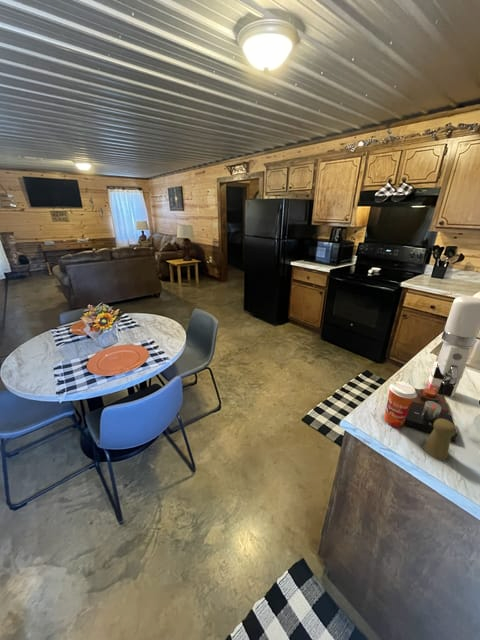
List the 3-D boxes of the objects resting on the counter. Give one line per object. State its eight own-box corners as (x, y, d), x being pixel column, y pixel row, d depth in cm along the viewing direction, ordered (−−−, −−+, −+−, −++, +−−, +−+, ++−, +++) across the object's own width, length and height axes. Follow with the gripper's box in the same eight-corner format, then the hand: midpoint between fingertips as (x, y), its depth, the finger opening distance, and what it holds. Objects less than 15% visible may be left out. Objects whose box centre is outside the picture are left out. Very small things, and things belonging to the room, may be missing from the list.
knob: (420, 410, 91) (424, 398, 89) (435, 415, 89) (440, 402, 87) (422, 419, 87) (426, 406, 85) (438, 423, 86) (443, 410, 84)
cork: (423, 453, 78) (434, 424, 74) (423, 439, 83) (433, 412, 79) (448, 463, 75) (460, 434, 71) (446, 448, 80) (458, 420, 76)
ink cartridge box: (428, 391, 107) (439, 359, 101) (426, 384, 111) (436, 353, 105) (454, 397, 103) (466, 364, 98) (450, 390, 108) (462, 358, 102)
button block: (442, 400, 101) (445, 391, 100) (447, 416, 93) (450, 407, 92) (406, 390, 106) (409, 382, 105) (408, 405, 98) (411, 396, 97)
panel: (448, 421, 91) (451, 414, 89) (454, 442, 82) (458, 434, 81) (402, 408, 97) (404, 401, 95) (403, 426, 88) (406, 418, 87)
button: (433, 394, 99) (434, 390, 98) (434, 399, 96) (436, 395, 96) (422, 391, 101) (423, 387, 100) (423, 396, 98) (424, 392, 97)
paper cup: (377, 419, 91) (386, 386, 86) (386, 410, 96) (395, 377, 90) (401, 433, 85) (412, 398, 80) (410, 422, 90) (421, 388, 85)
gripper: (483, 353, 69) (462, 406, 75) (466, 330, 83) (450, 375, 89) (447, 347, 72) (430, 398, 78) (438, 325, 86) (424, 370, 92)
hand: (441, 386), depth 84 cm, fingers open, 9 cm apart
